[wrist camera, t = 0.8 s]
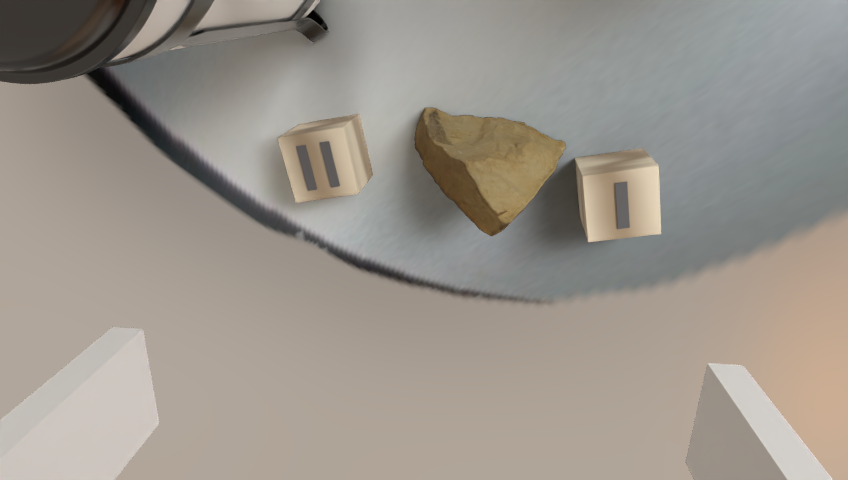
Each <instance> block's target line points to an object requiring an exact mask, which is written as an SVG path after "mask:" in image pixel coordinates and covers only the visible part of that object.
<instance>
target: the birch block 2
mask: <svg viewBox="0 0 848 480" xmlns="http://www.w3.org/2000/svg"><path fill="white" fill-rule="evenodd" d="M575 166H576V177H577V188H578V199H579V210H580V219H581V222H582V225H583V228H584V231H585V234H586V237H587V240H588V242H594V241H603V240H612V239H620V238H629V237H637V236H646V235H655V234H661V218H660V190H659V166H658V165H657V163H656V162H655V161H654V160H653V159H652V158H651V157H650V156H649V155H648V153H647V152H646V151H645V150H644V149H643V148H640V149H633V150H626V151H619V152H612V153H605V154H598V155H591V156H584V157H577V158H575Z"/></svg>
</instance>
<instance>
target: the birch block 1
mask: <svg viewBox="0 0 848 480" xmlns="http://www.w3.org/2000/svg"><path fill="white" fill-rule="evenodd" d="M278 142H279V145H280V149H281V152H282V156H283V159H284V163H285V167H286V170H287V174H288V177H289V181H290V184H291V188H292V191H293V195H294V198H295V202H296V203H298V202H305V201H312V200H319V199H326V198H333V197H340V196H347V195H354V194H359V193H360V192H361V190H362V189H363V188H364V186H365V185H366V183H367V182H368V181H369V179H370V178H371V177H372V175H373V173H372V168H371V164H370V160H369V155H368V151H367V146H366V142H365V138H364V133H363V129H362V124H361V120H360V115H359V114H356V115H350V116H344V117H338V118H332V119H326V120H320V121H314V122H309V123H303V124H299V125H297V126H296V127H294V128H293V129H291V130H289V131H288V132H286V133H285V134H283V135H281V136H280V137H278Z"/></svg>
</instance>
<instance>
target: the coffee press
mask: <svg viewBox="0 0 848 480" xmlns="http://www.w3.org/2000/svg"><path fill="white" fill-rule="evenodd" d="M319 2H320V0H0V81H3V82H9V83H20V84H39V83H48V82H55V81H60V80H64V79H69V78H73V77H77V76H80V75H83V74H86V73H88V72H91V71H93V70H95V69H97V68H99V67H108V66H115V65H120V64H125V63H131V62H136V61H141V60H144V59H148V58H151V57H153V56H156V55H158V54H161V53H163V52H166V51H169V50H174V49H180V48H186V47H192V46H198V45H204V44H210V43H216V42H221V41H227V40H233V39H239V38H245V37H250V36H256V35H262V34H268V33H274V32H280V31H287V30H297V31H299V32H301V33H302V34H303V35H304V36H306V37H307V38H308V39H309V40H310V41H312V42H315V41H316V40H318V39H319V38H321V37H322V36H324V35H325V34H326V33H328V32H329V31H328V27H327V25H326V23H325V22H324V20H323V19H322V18H321V16H320V15H319V14H318V13H317V12H316V11H315V10H314V8H315V7H316V6H317V4H318V3H319ZM133 56H134V57H133ZM127 57H131V58H128V59H125V60H116V59H122V58H127Z"/></svg>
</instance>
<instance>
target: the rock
mask: <svg viewBox="0 0 848 480" xmlns="http://www.w3.org/2000/svg"><path fill="white" fill-rule="evenodd" d="M415 149H416V150H417V151H418V153H419V154H420V157H421V159H422V160H423V165H424V167H425V168H426V170H427V171H428V172H429V173H430V174H431V175H432V177H433V178H434V180H435V182H436V183H437V184H438V185H439V186H440V188H441V190H442V191H443V192H444V194H445V195H446V196H447V197H448V198H450V199H451V200H453V201H454V202H455V203H456V204H457V206H458V207H459V208H460V209H461V210H462V211H463V212H464V213H465V215H466V216H467V217H468V218H469V219H470V220H471V221H472V222H473V223H475V225H476V226H477V227H478V228H479V229H480V230H481V231H483V232H484V233H486V234H488V235H489V236H493V235H495V234H497V233H499V232H501V231H502V230H504V229H505V228H506V227H507V226H508V225H509V224H510V223H511V222H512V221H513V219H514V218H515V217H516V216H517V215H518V214H519V213H520V212H521V211H522V210H523V209H524V208H525V207H526V205H527V204H528V203H529V202H530V201H531V200H532V199H533V198H534V197H535V195H536V193H537V192H538V190H539V189H540V188H541V187H542V186H543V184H544V182H545V181H546V180H547V179H548V178H549V177H550V176H551V175H552V174H553V172H554V171H555V169H556V167H557V163H558V160H559V159H560V157H561V156H562V155H563V151H564V150H565V149H566V146H565V143H564V141H557V140H553V139H552V138H550V137H548V136H546V135H544V134H542V133H540V132H538V131H537V130H535V129H534V128H532V127H529V126H527V125H525V123H524V122H516V121H510V120H506V119H504V118H492V117H486V118H479V117H474V116H470V115H461V116H451V115H449V114H447V113H445V112H442V111H440V110H438V109H435V108H424V110H423V113H422V116H421V118H420V121H419V123H418V125H417V129H416V133H415Z"/></svg>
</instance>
